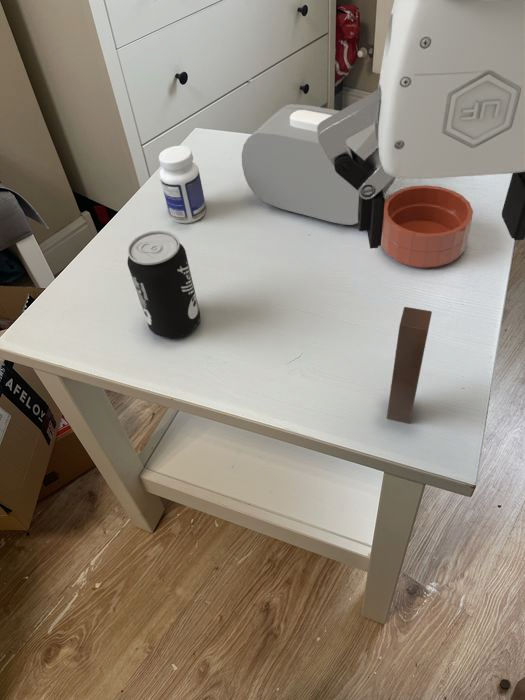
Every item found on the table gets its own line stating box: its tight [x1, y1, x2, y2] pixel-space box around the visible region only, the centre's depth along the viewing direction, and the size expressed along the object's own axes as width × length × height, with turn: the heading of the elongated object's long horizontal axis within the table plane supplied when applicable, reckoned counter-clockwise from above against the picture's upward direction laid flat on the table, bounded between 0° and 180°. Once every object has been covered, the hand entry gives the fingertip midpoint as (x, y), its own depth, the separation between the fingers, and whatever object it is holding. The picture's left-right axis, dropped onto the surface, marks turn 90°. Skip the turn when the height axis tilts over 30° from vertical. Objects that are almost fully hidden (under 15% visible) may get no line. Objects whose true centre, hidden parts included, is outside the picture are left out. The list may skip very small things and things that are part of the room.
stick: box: [386, 306, 433, 424], centre depth 54 cm, size 2×2×14 cm
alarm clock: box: [241, 103, 396, 226], centre depth 80 cm, size 21×10×13 cm, turn 60°
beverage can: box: [127, 230, 201, 339], centre depth 66 cm, size 7×7×12 cm
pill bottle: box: [158, 145, 207, 224], centre depth 83 cm, size 6×6×10 cm
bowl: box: [380, 184, 474, 269], centre depth 75 cm, size 11×11×6 cm
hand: (441, 232), depth 40 cm, fingers open, 9 cm apart
